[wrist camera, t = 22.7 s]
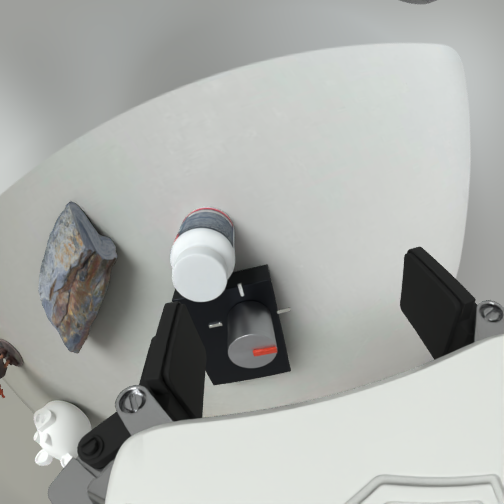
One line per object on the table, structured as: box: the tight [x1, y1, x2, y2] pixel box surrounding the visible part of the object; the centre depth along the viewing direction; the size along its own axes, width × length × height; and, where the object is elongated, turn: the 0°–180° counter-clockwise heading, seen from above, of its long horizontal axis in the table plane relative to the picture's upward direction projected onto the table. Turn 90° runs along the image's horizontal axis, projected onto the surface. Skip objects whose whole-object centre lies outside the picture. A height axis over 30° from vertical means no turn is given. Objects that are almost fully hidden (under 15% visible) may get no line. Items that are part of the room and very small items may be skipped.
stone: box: [39, 201, 117, 353], centre depth 27 cm, size 17×5×10 cm
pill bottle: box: [170, 207, 235, 302], centre depth 24 cm, size 5×5×9 cm
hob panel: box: [172, 265, 291, 385], centre depth 32 cm, size 14×11×3 cm
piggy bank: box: [34, 400, 92, 467], centre depth 34 cm, size 12×12×15 cm
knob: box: [228, 301, 277, 368], centre depth 27 cm, size 4×4×5 cm
